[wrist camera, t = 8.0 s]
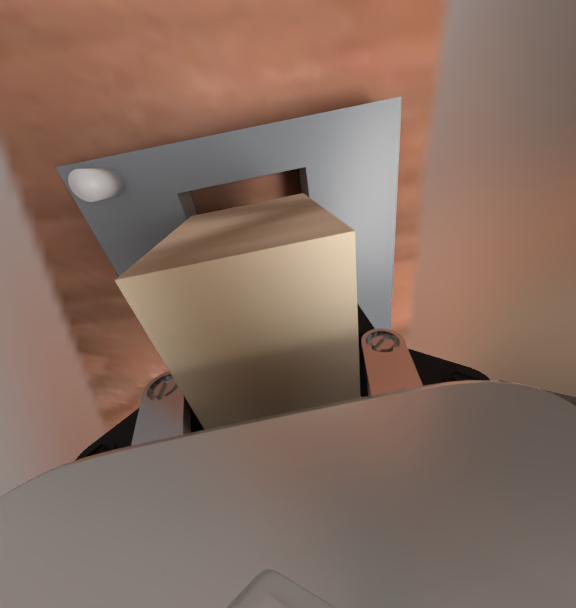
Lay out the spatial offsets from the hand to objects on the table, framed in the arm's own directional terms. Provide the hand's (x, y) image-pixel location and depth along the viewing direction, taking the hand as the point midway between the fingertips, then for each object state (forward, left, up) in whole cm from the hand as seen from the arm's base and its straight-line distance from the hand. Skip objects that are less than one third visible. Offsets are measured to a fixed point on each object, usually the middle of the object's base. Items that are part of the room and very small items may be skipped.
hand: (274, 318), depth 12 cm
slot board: (0, 0, -6) cm, 6 cm away
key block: (0, 0, -1) cm, 1 cm away
